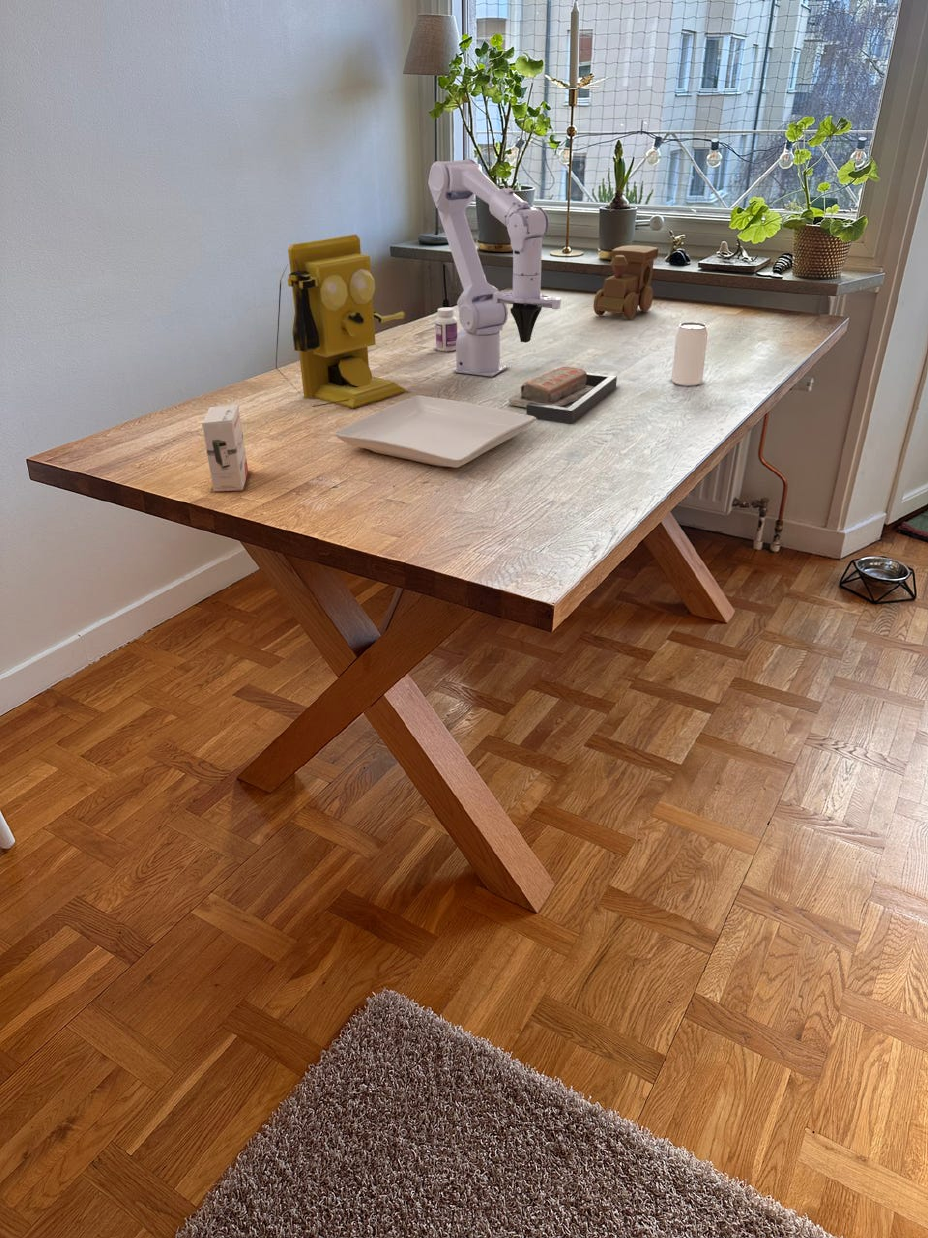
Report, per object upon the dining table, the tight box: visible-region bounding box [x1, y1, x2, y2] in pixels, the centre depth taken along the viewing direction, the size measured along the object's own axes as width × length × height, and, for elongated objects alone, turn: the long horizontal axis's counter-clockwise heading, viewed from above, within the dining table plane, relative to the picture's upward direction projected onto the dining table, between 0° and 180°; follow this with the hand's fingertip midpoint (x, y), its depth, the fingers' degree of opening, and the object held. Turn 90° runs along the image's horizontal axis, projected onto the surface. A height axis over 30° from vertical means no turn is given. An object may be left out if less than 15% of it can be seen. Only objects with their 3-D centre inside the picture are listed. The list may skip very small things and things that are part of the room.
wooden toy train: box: [593, 244, 659, 320], centre depth 248 cm, size 20×11×17 cm, turn 147°
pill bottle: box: [434, 306, 459, 352], centre depth 219 cm, size 5×5×10 cm
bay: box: [525, 372, 618, 424], centre depth 182 cm, size 10×26×2 cm, turn 153°
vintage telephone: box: [275, 234, 407, 410], centre depth 181 cm, size 31×14×30 cm, turn 137°
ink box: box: [201, 404, 249, 492], centre depth 146 cm, size 9×5×12 cm, turn 5°
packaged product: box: [508, 366, 595, 409], centre depth 184 cm, size 18×5×10 cm
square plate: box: [332, 394, 537, 469], centre depth 162 cm, size 27×27×4 cm
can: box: [671, 321, 709, 387], centre depth 191 cm, size 6×6×12 cm
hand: (525, 341), depth 189 cm, fingers closed
